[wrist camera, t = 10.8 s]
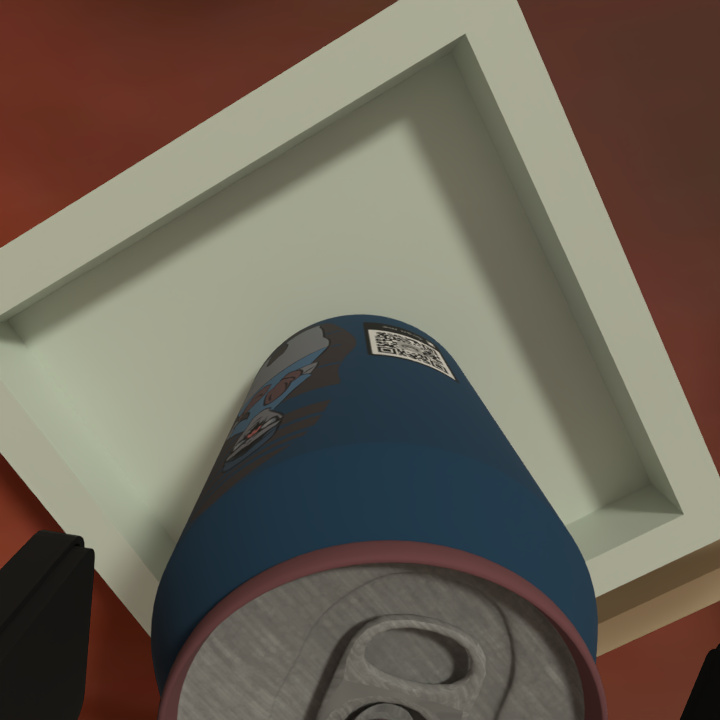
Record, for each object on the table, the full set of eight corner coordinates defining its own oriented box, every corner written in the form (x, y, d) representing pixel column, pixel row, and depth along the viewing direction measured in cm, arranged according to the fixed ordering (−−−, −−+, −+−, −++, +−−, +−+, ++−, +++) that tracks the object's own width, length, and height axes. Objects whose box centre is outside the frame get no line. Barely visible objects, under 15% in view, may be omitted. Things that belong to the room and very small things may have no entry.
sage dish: (690, 485, 21) (741, 528, 18) (261, 693, 23) (250, 760, 20) (467, -16, 16) (492, -58, 14) (-43, 298, 18) (-111, 316, 16)
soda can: (420, 530, 20) (525, 981, 9) (225, 472, 19) (52, 887, 8) (498, 346, 18) (760, 603, 7) (288, 274, 18) (184, 429, 6)
